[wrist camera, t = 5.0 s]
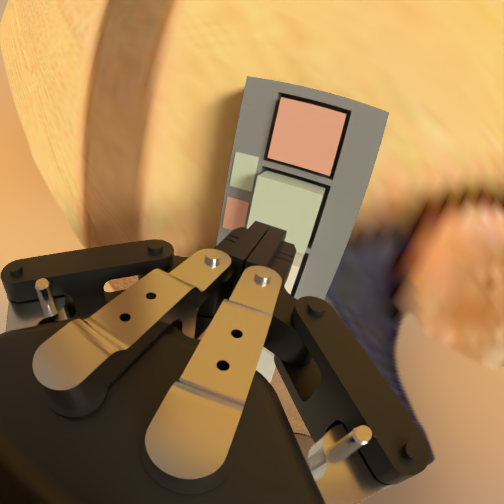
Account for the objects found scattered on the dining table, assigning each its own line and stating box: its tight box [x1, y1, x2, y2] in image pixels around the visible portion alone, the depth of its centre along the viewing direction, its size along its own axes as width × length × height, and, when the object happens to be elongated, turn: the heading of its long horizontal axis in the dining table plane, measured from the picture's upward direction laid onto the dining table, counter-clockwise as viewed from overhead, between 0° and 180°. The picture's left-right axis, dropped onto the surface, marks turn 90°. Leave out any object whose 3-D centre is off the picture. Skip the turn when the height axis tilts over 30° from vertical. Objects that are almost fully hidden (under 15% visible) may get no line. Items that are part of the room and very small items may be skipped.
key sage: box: [247, 171, 325, 254], centre depth 18 cm, size 4×4×2 cm
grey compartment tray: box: [216, 76, 389, 300], centre depth 19 cm, size 16×9×3 cm, turn 169°
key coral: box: [268, 97, 346, 176], centre depth 16 cm, size 4×4×2 cm
